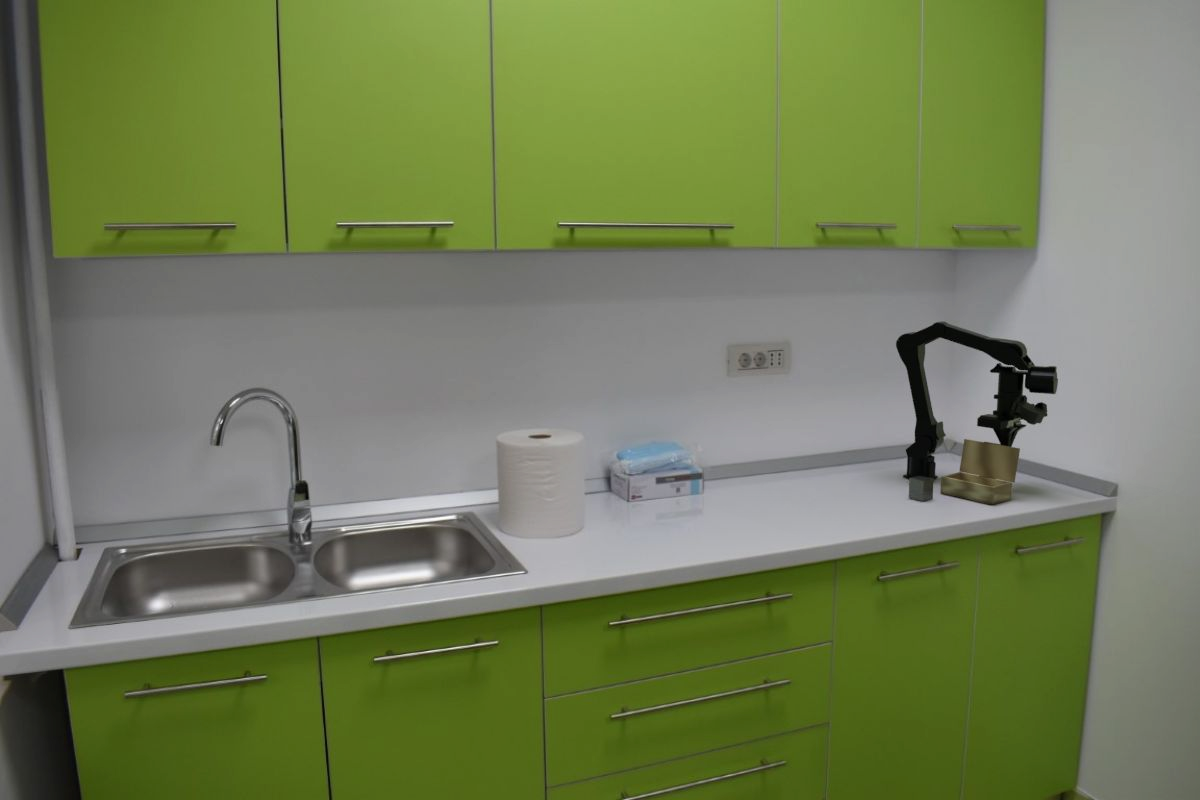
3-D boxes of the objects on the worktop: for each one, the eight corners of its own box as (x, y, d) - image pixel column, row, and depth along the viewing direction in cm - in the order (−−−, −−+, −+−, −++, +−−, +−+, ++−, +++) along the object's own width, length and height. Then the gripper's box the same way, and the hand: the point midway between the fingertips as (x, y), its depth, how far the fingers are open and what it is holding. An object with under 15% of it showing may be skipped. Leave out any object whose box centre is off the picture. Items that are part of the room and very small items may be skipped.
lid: (964, 438, 223) (966, 438, 223) (959, 472, 223) (961, 472, 224) (1018, 447, 211) (1020, 447, 212) (1012, 483, 212) (1014, 483, 212)
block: (908, 497, 215) (909, 478, 215) (918, 495, 218) (919, 475, 217) (922, 501, 212) (923, 481, 211) (932, 498, 214) (933, 478, 213)
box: (940, 492, 219) (941, 476, 219) (959, 487, 224) (959, 471, 223) (992, 504, 208) (993, 487, 207) (1010, 499, 212) (1011, 482, 212)
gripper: (1020, 398, 207) (1016, 462, 210) (1061, 391, 218) (1057, 452, 220) (977, 393, 216) (974, 454, 219) (1018, 386, 227) (1015, 445, 229)
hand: (1006, 451), depth 222 cm, fingers closed
